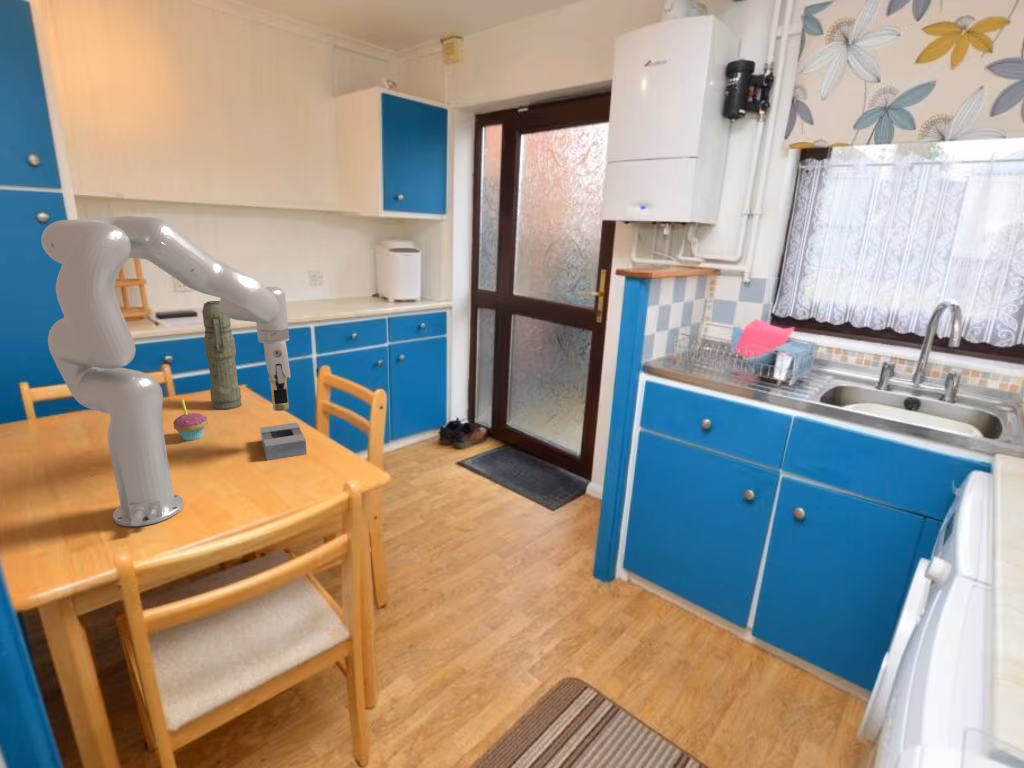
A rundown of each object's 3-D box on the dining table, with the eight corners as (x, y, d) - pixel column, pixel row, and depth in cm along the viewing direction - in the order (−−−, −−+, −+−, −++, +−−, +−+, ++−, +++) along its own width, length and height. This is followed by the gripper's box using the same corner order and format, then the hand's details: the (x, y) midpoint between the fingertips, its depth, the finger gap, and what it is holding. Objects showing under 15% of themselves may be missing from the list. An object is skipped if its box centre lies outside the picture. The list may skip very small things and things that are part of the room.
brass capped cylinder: (291, 409, 146) (288, 378, 143) (273, 412, 144) (269, 380, 141) (288, 404, 150) (285, 373, 147) (271, 406, 148) (267, 375, 145)
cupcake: (168, 441, 151) (161, 400, 148) (192, 430, 159) (186, 392, 156) (193, 445, 149) (187, 404, 146) (216, 434, 157) (211, 395, 154)
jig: (306, 453, 146) (305, 439, 145) (266, 460, 142) (265, 445, 140) (298, 436, 158) (297, 422, 157) (261, 441, 153) (259, 427, 152)
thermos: (239, 398, 187) (228, 298, 177) (244, 409, 178) (232, 304, 168) (211, 402, 183) (197, 300, 173) (213, 412, 173) (199, 305, 163)
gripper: (293, 340, 135) (299, 408, 141) (284, 327, 149) (290, 389, 155) (261, 343, 132) (268, 412, 137) (254, 329, 146) (262, 393, 151)
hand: (280, 399), depth 146 cm, fingers closed on brass capped cylinder, 4 cm apart
